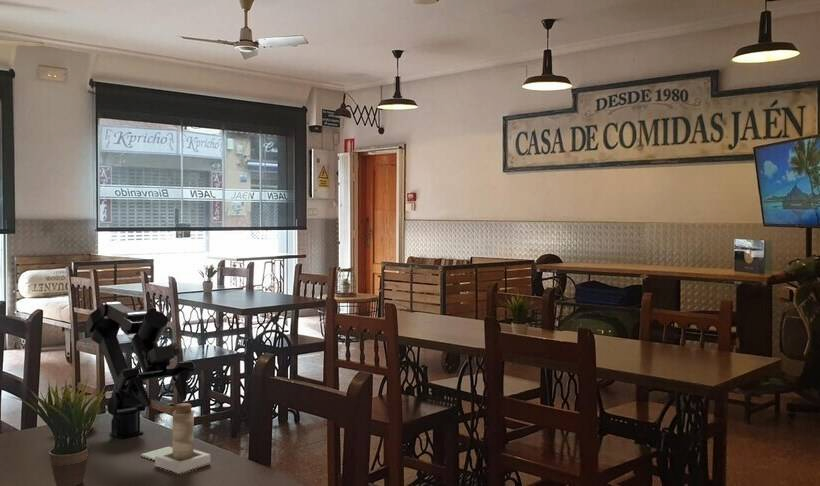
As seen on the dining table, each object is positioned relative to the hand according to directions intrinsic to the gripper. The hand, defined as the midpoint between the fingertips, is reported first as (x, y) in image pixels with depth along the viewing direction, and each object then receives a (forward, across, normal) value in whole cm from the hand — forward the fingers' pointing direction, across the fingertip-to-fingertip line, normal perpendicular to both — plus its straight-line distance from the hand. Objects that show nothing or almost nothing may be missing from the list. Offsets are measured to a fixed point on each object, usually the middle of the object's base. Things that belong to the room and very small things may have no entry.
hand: (167, 403), depth 180 cm
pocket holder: (+15, 0, +4) cm, 16 cm away
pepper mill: (+15, 0, +4) cm, 16 cm away
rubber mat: (+9, 0, +10) cm, 13 cm away
